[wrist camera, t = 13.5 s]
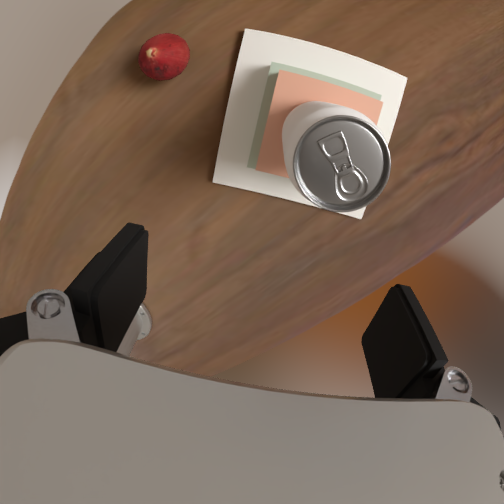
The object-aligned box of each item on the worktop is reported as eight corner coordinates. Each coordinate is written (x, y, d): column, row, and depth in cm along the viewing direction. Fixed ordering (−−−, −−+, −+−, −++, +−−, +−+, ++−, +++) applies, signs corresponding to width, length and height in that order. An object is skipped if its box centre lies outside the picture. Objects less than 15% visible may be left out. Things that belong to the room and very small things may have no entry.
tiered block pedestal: (359, 215, 39) (377, 249, 31) (214, 179, 38) (197, 205, 30) (403, 77, 29) (438, 77, 21) (246, 30, 28) (236, 11, 20)
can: (301, 178, 28) (314, 236, 18) (268, 118, 25) (263, 138, 15) (361, 151, 26) (411, 193, 16) (332, 89, 23) (371, 89, 13)
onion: (197, 78, 31) (176, 76, 24) (153, 83, 32) (124, 83, 25) (197, 35, 28) (176, 23, 21) (153, 41, 29) (124, 33, 22)
